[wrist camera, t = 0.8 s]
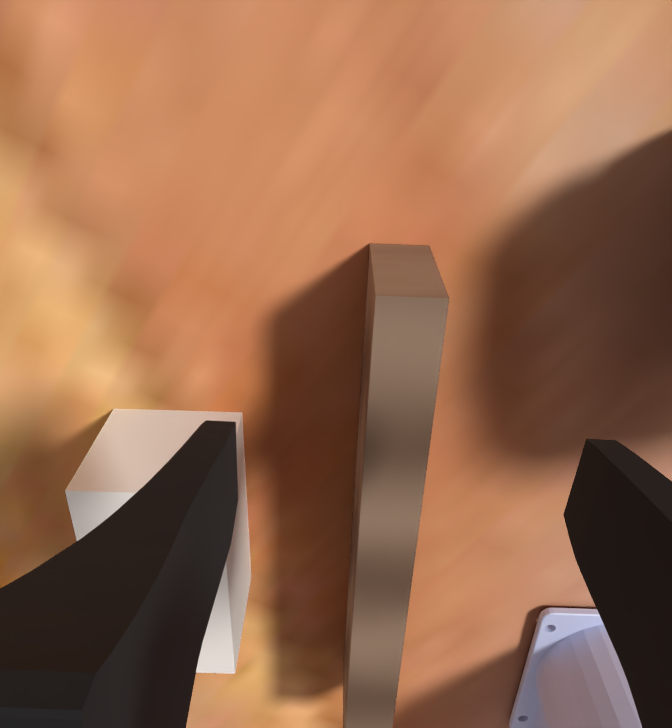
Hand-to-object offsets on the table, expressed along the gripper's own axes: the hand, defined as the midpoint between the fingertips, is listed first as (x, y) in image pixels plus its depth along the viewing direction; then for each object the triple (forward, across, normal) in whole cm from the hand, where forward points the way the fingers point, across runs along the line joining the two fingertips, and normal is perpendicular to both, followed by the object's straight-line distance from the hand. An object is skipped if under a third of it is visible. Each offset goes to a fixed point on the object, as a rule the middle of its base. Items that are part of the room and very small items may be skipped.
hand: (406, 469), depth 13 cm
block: (+10, +7, +10) cm, 16 cm away
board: (+10, -1, +9) cm, 14 cm away
